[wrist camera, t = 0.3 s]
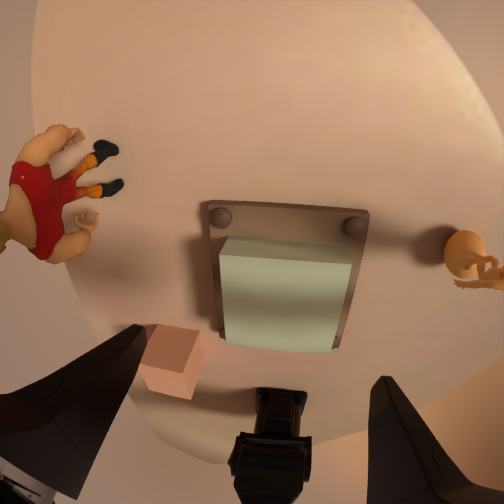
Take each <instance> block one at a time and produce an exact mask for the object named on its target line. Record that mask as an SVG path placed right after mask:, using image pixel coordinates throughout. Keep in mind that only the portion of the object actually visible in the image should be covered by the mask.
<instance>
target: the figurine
mask: <svg viewBox="0 0 504 504" xmlns="http://www.w3.org/2000/svg"><path fill="white" fill-rule="evenodd" d="M444 260H445V263H446V266H447V268H448V269H449V271H450V272H451V273H452V274H453V275H455V276H456V277H459V278H463V279H467V278H471V277H473V276H475V275H476V274H478V275H479V280H475V281H469V282H464V281H458V280H455V279H454V281H456V282H455V283H454V284H456V285H457V287H462V289H464V288H465V287H467V288H493V289H497V290H502V291H504V266H503V267H502V268H500V264H499V261H498V260H497V259H496V258H494V257H493V256H486V252H485V246H484V244H483V242H482V240H481V238H480V237H479V236H478V235H477V234H475V233H474V232H472V231H468V230H462V231H458V232H456V233H454V234H453V235H452V236H451V237H450V238H449V239H448V241H447V243H446V246H445V249H444ZM488 262H492V267H491V268H490V269H489V270H488V271H486V272H484V270H485V263H488Z"/></svg>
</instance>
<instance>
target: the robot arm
mask: <svg viewBox="0 0 504 504" xmlns="http://www.w3.org/2000/svg"><path fill="white" fill-rule="evenodd" d="M146 346H147V337H146V329H145V327H144V326H141V325H138V324H133V325H132V326H130V327H128V328H127V329H125V330H123V331H122V332H120V333H118V334H117V335H115V336H113V337H112V338H110V339H108V340H107V341H105V342H103V343H102V344H100V345H98V346H97V347H95V348H94V349H92V350H90V351H89V352H87V353H85V354H84V355H82V356H80V357H79V358H77V359H75V360H74V361H72V362H70V363H69V364H67V365H65V367H62V368H60V369H59V370H57V371H55V372H54V373H52V374H50V375H48V376H47V377H44V378H42V379H40V380H38V381H37V382H34V383H32V384H30V385H28V386H25V387H23V388H21V389H19V390H16V391H14V392H12V393H8V394H0V504H55V502H54V497H55V495H56V493H57V491H58V492H60V493H62V494H64V495H66V496H68V497H70V498H72V499H75V500H77V499H78V497H79V494H80V492H81V490H82V487H83V485H84V483H85V480H86V478H87V476H88V474H89V471H90V469H91V467H92V465H93V461H94V460H95V458H96V455H97V454H98V451H99V449H100V447H101V445H102V443H103V441H104V439H105V437H106V434H107V432H108V430H109V428H110V426H111V424H112V422H113V420H114V418H115V416H116V414H117V412H118V410H119V407H120V406H121V404H122V402H123V400H124V398H125V396H126V394H127V392H128V390H129V388H130V386H131V384H132V382H133V380H134V378H135V375H136V372H137V370H138V367H139V364H140V362H141V359H142V356H143V354H144V351H145V349H146ZM306 400H307V393H306V392H296V391H282V390H271V389H261V388H259V389H257V390H256V413H257V417H256V423H255V428H254V434H252V433H245V432H240V436H237V437H236V441H235V446H234V449H233V451H232V453H231V455H230V457H229V460H228V465H229V466H230V467H231V475H232V476H234V477H235V479H234V488H235V490H236V492H237V494H238V497H239V499H240V501H241V503H242V504H293V503H294V502H295V500H296V499H297V498H298V497H299V495H300V494H301V492H302V490H303V482H308V481H309V477H310V472H311V456H312V455H311V454H312V452H311V451H312V449H311V448H312V436H307V437H299V435H300V421H301V416H302V413H303V409H304V406H305V403H306ZM368 447H369V448H368V455H369V456H368V489H367V504H504V491H500V490H495V489H491V488H487V487H484V486H480V485H477V484H474V483H472V482H471V481H470V480H468V479H467V478H466V477H465V475H464V474H463V473H462V472H461V471H460V470H459V468H458V467H457V466H456V465H455V463H454V462H453V461H452V460H451V458H450V457H449V456H448V455H447V453H446V452H445V451H444V449H443V448H442V446H441V445H440V444H439V442H438V441H437V440H436V438H435V436H434V435H433V433H432V432H431V431H430V429H429V428H428V426H427V425H426V423H425V422H424V421H423V419H422V418H421V416H420V415H419V414H418V412H417V411H416V409H415V408H414V407H413V405H412V404H411V402H410V401H409V400H408V398H407V397H406V395H405V394H404V393H403V391H402V390H401V389H400V387H399V386H398V385H397V383H396V382H395V380H394V379H393V378H392V377H391V376H384V375H383V376H381V377H380V378H379V379H378V380H377V382H376V383H375V384H374V385H373V387H372V389H371V393H370V408H369V421H368Z"/></svg>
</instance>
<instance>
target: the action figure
mask: <svg viewBox="0 0 504 504" xmlns="http://www.w3.org/2000/svg"><path fill="white" fill-rule="evenodd" d="M78 133H79V134H78ZM74 136H76V137H77V138H78V140H79V141H82V139H83V140H84V139H85V136H84V134H83V132H82V131H81V130H80V129H78V128H72V129H69V128H67V127H66V126H65V125H61V124H58V125H52V126H50V127H48V129H47V130H46V131H45V132H44V133H42V134H39V135H37V136H36V137H34V138H33V139H31V140H30V141H29V142H27V143H26V144H25V145H24V147H23V148H22V150H21V152H20V153H19V155H18V157H17V159H16V162H15V164H14V165H13V166H12V172H11V176H10V183H9V187H10V189H9V197H8V201H7V204H6V207H5V210H4V211H2V212H0V253H2V252H3V251H4V250H5V248H6V246H5V243H6V242H7V241H8V240H10V239H13V240H15V241H17V242H19V243H21V244H22V245H24V246H26V247H27V248H28V250H29V251H30V252H31V253H32V254H34V255H35V256H36V257H37V258H38V259H40V260H45V261H46V262H48V263H52V264H57V263H60V262H63V261H67V260H70V259H72V258H73V257H74V256H80V255H81V254H83V253H84V252H85V251H86V249H87V248H88V246H89V244H90V242H91V234H90V233H91V232H92V231H93V230H94V229H95V228H96V226H97V223H98V218H99V213H98V212H97V213H96V217H95V211H93V213H92V218H91V221H90V222H89V219H90V212H88V213H87V217H86V220H85V221H84V218H83V214H82V213H81V214H80V220H81V221H80V222H79V221H78V217H77V215H74V222H75V224H76V226H77V227H78V228H79V230H80V231H76V232H72V233H71V234H64V233H65V231H64V226H63V222H62V218H61V214H62V207H63V206H64V205H65V204H66V203H70V202H72V201H75V200H77V199H80V198H82V197H84V196H88V197H90V198H103V197H110V196H113V195H114V194H116V193H117V192H118V191H119V190H121V189H122V188H123V186H124V183H123V180H122V179H117V180H115V181H113V182H112V183H111V184H105V183H99V184H96V185H94V186H91V187H76V180H77V179H78V178H79V177H80V176H81V175H82V174H83V173H84V172H85V171H86V170H89V169H92V168H95V167H98V166H99V165H100V164H101V163H102V162H103V161H104V160H105V159H106V158H107V157H109V156H116V155H117V154H118V153H119V148H118V147H117V145H115V144H113V143H110V142H108V141H106V140H98V141H97V142H95V143H94V149H95V150H96V152H93V153H90V155H87V156H86V157H85V158H84V159H83V160H82V162H81V163H80V164H79V165H78V166H77V167H76V168H74V169H72V170H70V171H69V172H67V173H66V174H65V175H63V176H62V177H60V178H58V179H56V180H54V179H53V178H52V174H51V170H50V166H49V164H47V162H48V160H49V159H50V157H51V156H52V155H54V154H56V153H58V152H59V151H60V150H61V151H63V150H64V146H65V145H66V144H67V145H69V144H70V143H69V140H70V139H71V140H73V142H77V139H76V138H75V137H74ZM81 137H82V138H81ZM94 218H95V222H94V223H93V221H94Z"/></svg>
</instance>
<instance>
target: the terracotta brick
mask: <svg viewBox="0 0 504 504" xmlns="http://www.w3.org/2000/svg"><path fill="white" fill-rule="evenodd" d="M204 361H205V357H204V352H203V346H202V341H201V335H200V331H197V330H191V329H185V328H178V327H173V326H167V325H161V324H158V325H157V327H156V328H155V330H154V332H153V334H152V336H151V337H150V339H149V341H148V343H147V346H146V349H145V351H144V354H143V356H142V359H141V362H140V364H139V367H138V368H139V370H140V372H141V374H142V376H143V378H144V380H145V382H146V385H147V387H148V389H149V390H151V391H155V392H159V393H163V394H167V395H171V396H175V397H179V398H184V399H188V400H191V398H192V395H193V393H194V390H195V387H196V384H197V381H198V378H199V376H200V373H201V370H202V367H203V364H204Z"/></svg>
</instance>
